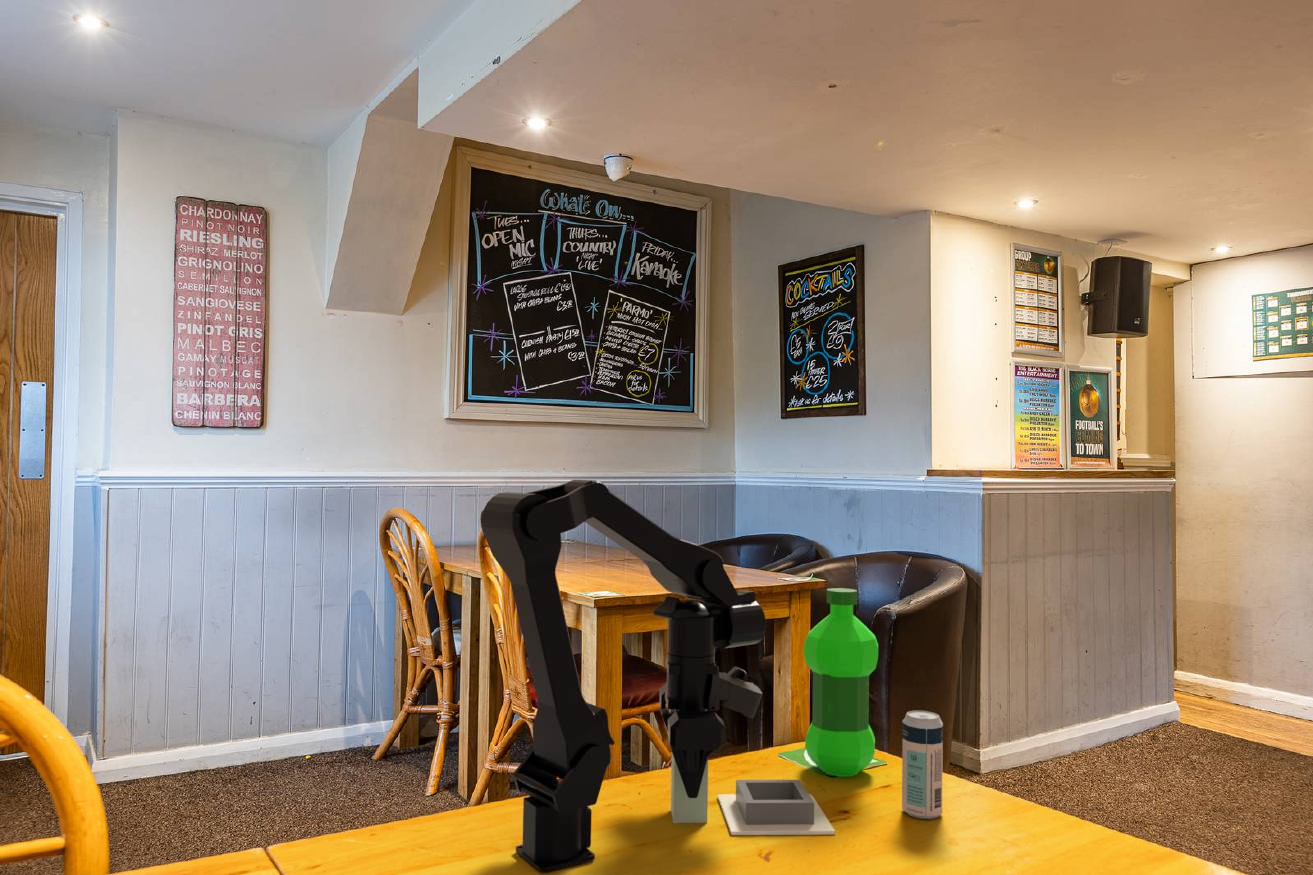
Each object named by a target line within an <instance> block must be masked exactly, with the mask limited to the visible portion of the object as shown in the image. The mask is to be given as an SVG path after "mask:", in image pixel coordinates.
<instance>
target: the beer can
mask: <svg viewBox="0 0 1313 875" xmlns="http://www.w3.org/2000/svg"><path fill="white" fill-rule="evenodd" d="M943 728H944V723H943V721H942V719H941V717H940V714H937V713H935V712H934V711H933V712H932V711H928V710H910V711H909V710H908V711H907V712H906V714H905V717H904V719H902V747H901V748H902V751H901V752H902V753H901V754H902V755H901V756H902V757H901V758H902V759H901V760H902V763H901V765H902V766H901V767H902V768H901V769H902V771H901V774H902V775H901V777H902V779H901V790H902V791H901V809H902V810H903V811H904V812H905V813H906V814H907V815H909V816H910V817H913V818H914V819H919V820H933V819H936V818H938V817H939V816H941V815H942V814H943V758H944V757H943V756H944V755H943V754H944V753H943V752H944V751H943V748H944V747H943V739H944V734H943V733H944V731H943V730H944V729H943Z"/></svg>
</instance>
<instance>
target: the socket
mask: <svg viewBox="0 0 1313 875" xmlns="http://www.w3.org/2000/svg"><path fill="white" fill-rule="evenodd" d="M717 799H718V803H719V804H720V808H721V811H722V813H723V816H724V819H725V821H726V825H727V828H728V830H729V833H730V835H731V836H782V835H783V836H784V835H785V836H791V835H792V836H795V835H796V836H797V835H798V836H799V835H800V836H801V835H802V836H803V835H805V836H806V835H807V836H808V835H809V836H810V835H811V836H812V835H815V836H816V835H819V836H820V835H822V836H823V835H825V836H826V835H831V836H833V835H836V830H835V828H834V827H833V825H832V824H831V822H830V821H829V819H828V818H827V816H826V815H825V813H824V812H823V809H822V808H821V807H820V805H819V804H818V802H817V800H816V798H815V797H814V796H813V795H812V794H811V793H808V790H807V789H806V788H805V786H804V784H803V783H802V781H801V780H800V779H736V780H735V794H733V793H732V794H730V793H728V794H724V793H723V794H717Z"/></svg>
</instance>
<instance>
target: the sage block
mask: <svg viewBox="0 0 1313 875" xmlns="http://www.w3.org/2000/svg"><path fill="white" fill-rule="evenodd" d="M670 768H671V773H670V774H671V776H670V777H671V778H670V782H671V784H670V785H671V786H670V787H671V788H670V813H671V818H672V822H673V824H708V801H709V797H708V794H709V792H708V791H709V758H708V759H707V763H706V766H705V770H704V774H703V778H702V782H701V786H700V790H699V793H698V797H697V798H688V796H687V793H686V790H685V787H684V784H683V782H682V779H681V776H680V773H679V770H678V767H677V765H676V762H675V759H674V756H673V753H672V752H671V767H670Z"/></svg>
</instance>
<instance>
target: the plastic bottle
mask: <svg viewBox="0 0 1313 875" xmlns="http://www.w3.org/2000/svg"><path fill="white" fill-rule="evenodd" d="M826 603H827V604H829V606H830V607H829V608H830V610H829V611H830V612H829V614H828V615H827V616H826V617H824V618H823V619H822V620H821V621H820V622H818V623H817V624H816V625H815V626H813V628H812V629H810V630H809V632H808V633H807V637H806V639H805V641H804V644H803V655H804V656H803V657H804V660H805V664H806V666H807V667H809V669H810V670H811V671H812V712H811V713H812V717H811V718H812V721H811V723H810V725H809V727H808V730H807V733H806V736H805V739H804V740H805V751H806V754H807V756H808V757H809V758H810V760H811V762H813V763H814V764H815V765H816V766H817V767H818V768H819V769H820V771H821V770H822V771H821V772H823V773H824V772H825V775H828V774H829V776H834V775H835V776H834V777H841V778H842V777H844V778H845V777H854V776H857V775H859V772H861V771H863V770H864V769H865V768H866V767H868V766H869V765H870V764H871V762H872V760H873V759H874V756H875V753H876V737H875V735H874V732H873V729H872V728H871V726H870V724H869V716H870V715H869V708H870V706H869V705H870V704H869V702H870V701H869V700H870V699H869V696H870V695H869V694H870V693H869V691H870V690H869V689H870V688H869V687H870V675H871V674H872V673H873V672H874V671H875V670H876V669H877V664H878V661H879V660H878V659H879V643H878V640H877V637H876V635H875V634H874V633H873V632H872V631H871V630H870V629H869V628H868V627H867V625H865V624H864V623H863V622H862V621H861V620H860V619H859V618H857V616H855V615H854V605H855V606H856V605H857V604H858V590H857V589H853V588H844V587H837V588H836V587H833V588H827V589H826ZM830 774H831V775H830Z"/></svg>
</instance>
